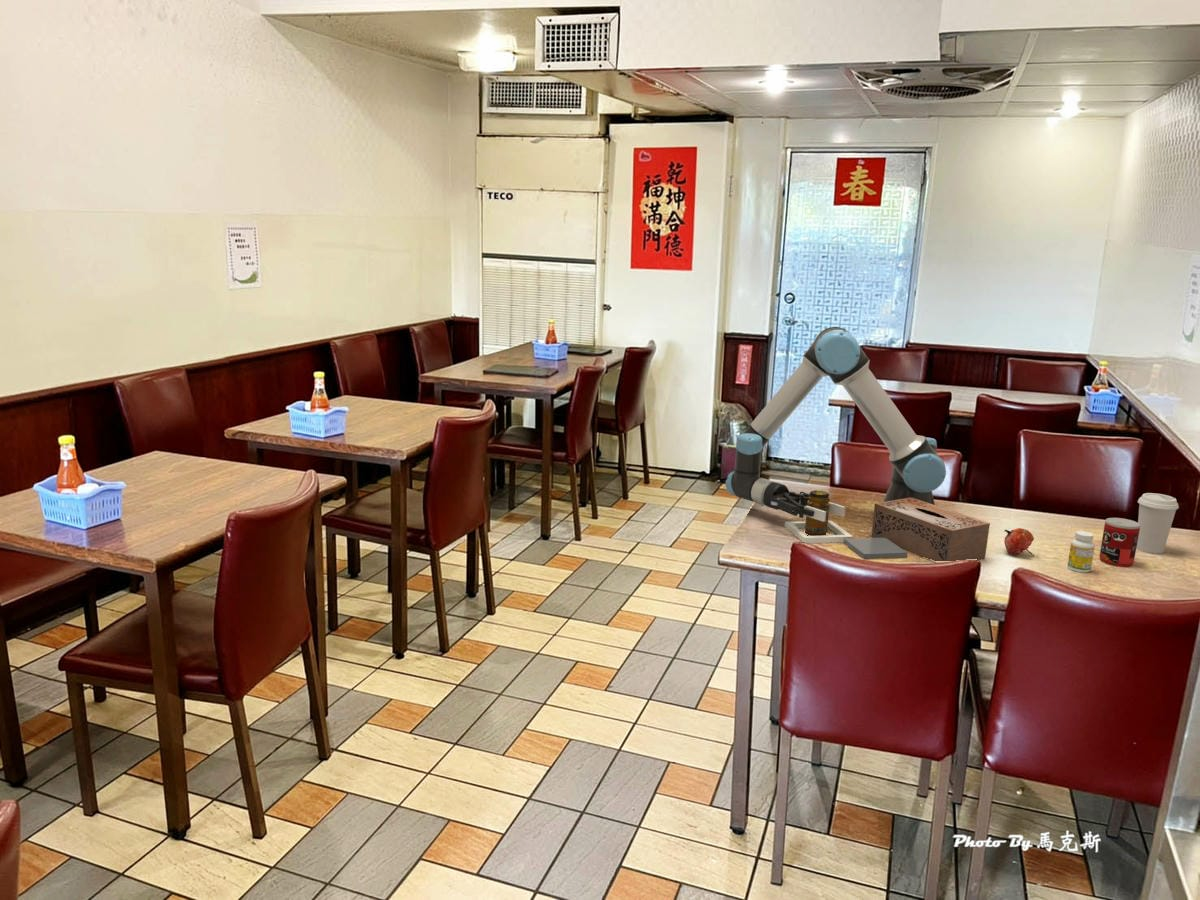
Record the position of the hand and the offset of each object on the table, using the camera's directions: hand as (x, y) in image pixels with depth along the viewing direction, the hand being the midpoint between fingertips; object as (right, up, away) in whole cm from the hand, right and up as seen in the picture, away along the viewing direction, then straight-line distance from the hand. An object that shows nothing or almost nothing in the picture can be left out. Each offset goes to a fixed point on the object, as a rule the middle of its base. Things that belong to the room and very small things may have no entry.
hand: (834, 514), depth 246 cm
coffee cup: (+87, -10, +2) cm, 87 cm away
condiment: (-3, -6, +5) cm, 9 cm away
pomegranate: (+48, -11, -5) cm, 49 cm away
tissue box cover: (+24, -9, -2) cm, 26 cm away
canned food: (+72, -12, -9) cm, 73 cm away
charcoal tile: (+9, -9, -6) cm, 14 cm away
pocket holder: (-3, -6, +5) cm, 9 cm away
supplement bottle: (+58, -13, -15) cm, 62 cm away
